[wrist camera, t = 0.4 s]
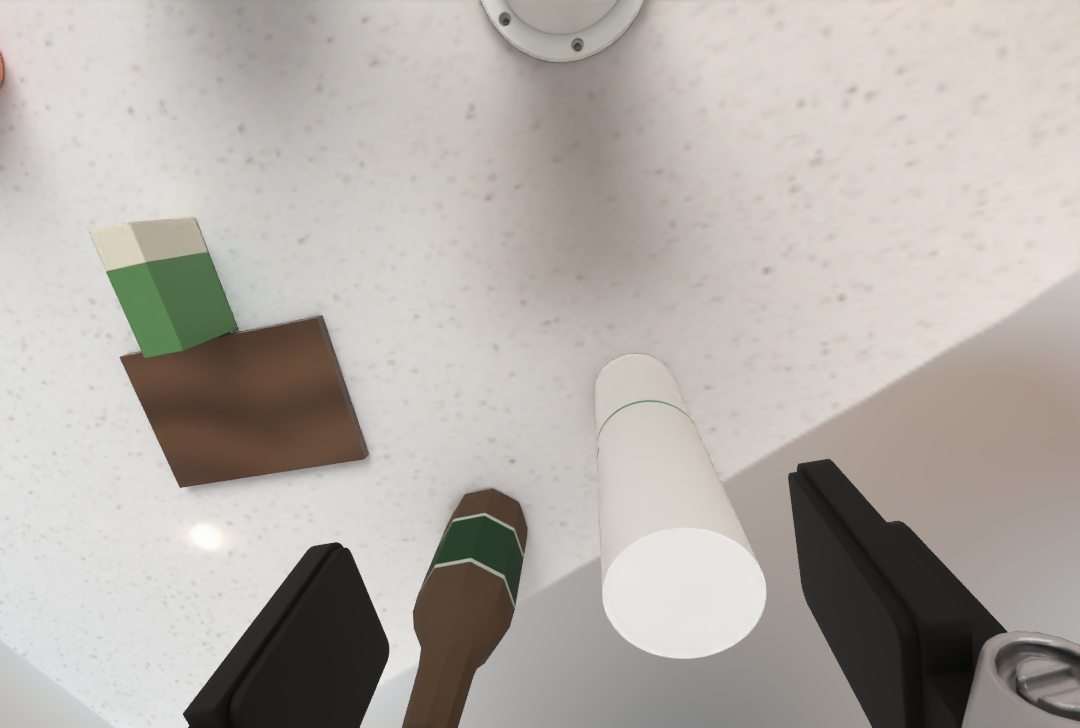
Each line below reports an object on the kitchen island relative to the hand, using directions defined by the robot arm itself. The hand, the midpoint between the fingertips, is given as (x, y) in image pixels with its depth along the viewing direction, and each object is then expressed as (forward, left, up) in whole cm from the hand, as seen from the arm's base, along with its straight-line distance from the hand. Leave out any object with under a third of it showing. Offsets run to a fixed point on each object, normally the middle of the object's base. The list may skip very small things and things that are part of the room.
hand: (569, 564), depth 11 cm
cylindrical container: (+11, +3, -36) cm, 37 cm away
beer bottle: (+22, -13, -36) cm, 44 cm away
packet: (-7, -33, -36) cm, 49 cm away
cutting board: (+6, -33, -36) cm, 49 cm away
